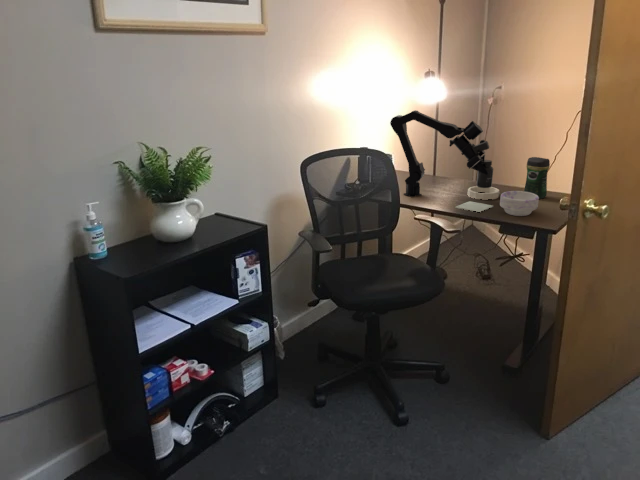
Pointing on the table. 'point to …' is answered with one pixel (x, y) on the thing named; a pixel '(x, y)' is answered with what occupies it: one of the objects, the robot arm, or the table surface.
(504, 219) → the table surface
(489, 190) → the ring holder
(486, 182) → the supplement bottle
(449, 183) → the table surface
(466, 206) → the mat
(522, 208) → the paper bowls
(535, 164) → the coffee jar
